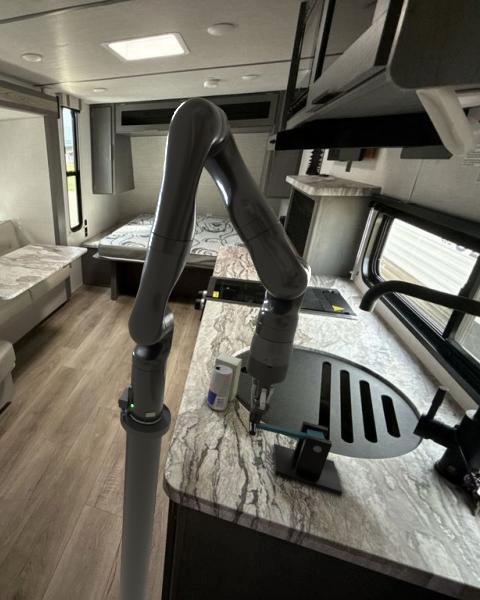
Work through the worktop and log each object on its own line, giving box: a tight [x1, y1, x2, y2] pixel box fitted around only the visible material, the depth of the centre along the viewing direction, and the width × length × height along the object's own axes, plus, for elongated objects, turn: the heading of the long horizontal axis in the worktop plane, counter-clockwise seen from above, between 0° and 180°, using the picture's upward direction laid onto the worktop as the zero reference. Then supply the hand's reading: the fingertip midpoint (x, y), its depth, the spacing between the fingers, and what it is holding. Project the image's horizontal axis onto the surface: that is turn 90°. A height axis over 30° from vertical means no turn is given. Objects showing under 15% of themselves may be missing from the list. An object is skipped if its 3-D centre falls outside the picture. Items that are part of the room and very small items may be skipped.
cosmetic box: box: [214, 352, 243, 402], centre depth 89 cm, size 6×4×12 cm
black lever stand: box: [272, 420, 343, 497], centre depth 66 cm, size 12×8×11 cm, turn 67°
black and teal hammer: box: [248, 420, 324, 440], centre depth 67 cm, size 14×6×2 cm, turn 67°
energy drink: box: [206, 363, 233, 411], centre depth 85 cm, size 5×5×12 cm
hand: (254, 421), depth 69 cm, fingers closed
